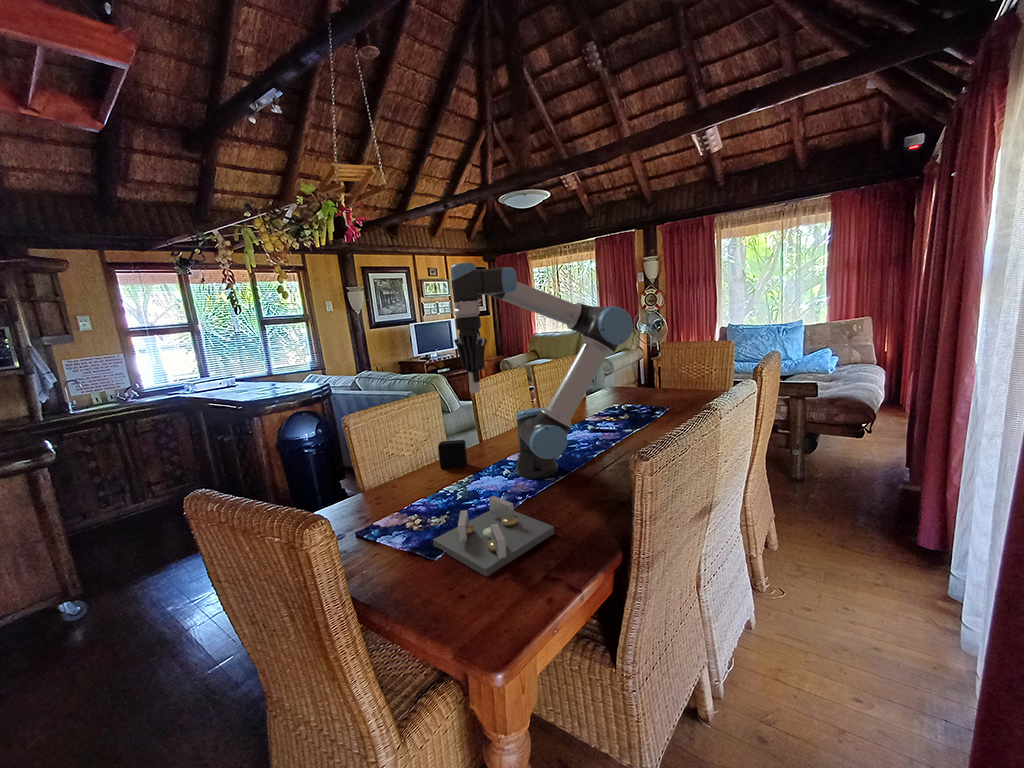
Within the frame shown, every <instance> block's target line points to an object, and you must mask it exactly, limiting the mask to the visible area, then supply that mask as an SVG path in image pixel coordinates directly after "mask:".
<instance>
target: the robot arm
mask: <svg viewBox="0 0 1024 768" xmlns="http://www.w3.org/2000/svg"><path fill="white" fill-rule="evenodd" d="M450 279H451V280H450V282H451V291H452V300H453V307H454V315H455V316H456V317H455V318H454V319H455V326H456V330H457V331H459V333H458V338H456V339H455V338H454V344H455V346H456V349H457V352H458V357H459V360H460V364H461V367H462V370H465V371H466V373H467V378H468V379H467V380H468V382H469V391H470V392H469V393H470V394H476V393H479V392H481V388H480V386H481V385H480V381H481V379H480V378H481V377H480V371H483V370H484V369H485V368H484V364H485V351H486V350H485V348H486V344H487V338H483V337H482V336H481V332H480V329H481V327H482V323H481V317H480V316H479V314H481V311H480V301H479V296H480V295H481V296H483V295H485V296H488V297H489V296H490V297H493V298H496V299H497V300H502V301H504V302H505V303H508V304H512V305H514V306H517V307H519V308H522V309H525V310H527V311H530V312H533V313H535V314H537V315H541V316H543V317H546V318H547V319H551V320H554V321H556V322H559V323H562V324H564V325H566V326H567V329H569V330H572V331H574V332H576V333H579V334H580V335H582V336H581V338H582V342H583V343H582V345H581V347H580V349H579V351H578V352H577V354H576V355H575V358H574V360H573V361H572V363H571V365H570V366H569V367H568V370H567V371H566V373H565V375H564V377H563V379H562V380H561V382H560V384H559V386H558V387H557V390H556V391H555V392H554V394H553V396H552V398H551V400H550V402H549V404H548V405H547V406H546V407H535V408H526V409H521V410H519V411H517V412H516V418H515V419H516V425H517V426H516V427H517V436H518V440H517V441H518V451H519V452H518V457H517V462H516V465H515V471H516V474H517V476H520V477H521V478H527V479H543V478H547V477H550V476H553V475H554V474H557V472H558V470H559V466H558V461H557V460H556V458H558V457H559V456H561V455H562V454H563V453H564V451H566V449H567V446H568V434H569V432H570V430H571V429H572V423H571V419H572V417H573V415H574V414H575V412H576V410H577V409H578V407H579V405H580V403H581V402H582V400H583V398H584V396H585V394H586V393H587V391H588V389H589V388H590V387H591V384H592V383H593V381H594V379H595V378H596V375H597V374H598V372H599V370H600V369H601V367H602V365H603V364H604V362H605V360H606V358H607V357H609V356H612V355H615V352H616V351H617V349H618V347H619V345H621V344H623V343H625V342H627V341H628V339H630V337H631V335H632V333H633V329H634V323H633V319H632V316H631V315H630V313H629V312H628V310H626V309H625V308H622V307H619V306H615V305H608V306H595V305H594V306H593V305H592V306H591V305H587V304H584V303H581V302H576V303H574V302H570V301H568V300H565V299H563V298H560V297H558V296H555V295H553V294H550V293H547V292H545V291H542V290H540V289H537V288H534V287H532V286H529V285H527V284H525V283H522V282H519V281H518V277H517V272H516V269H514V267H505V266H504V267H496V268H483V269H482V268H481V269H480V268H478V269H477V267H476V264H475V263H474V262H460V263H454V264H453V265H451V266H450Z"/></svg>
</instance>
